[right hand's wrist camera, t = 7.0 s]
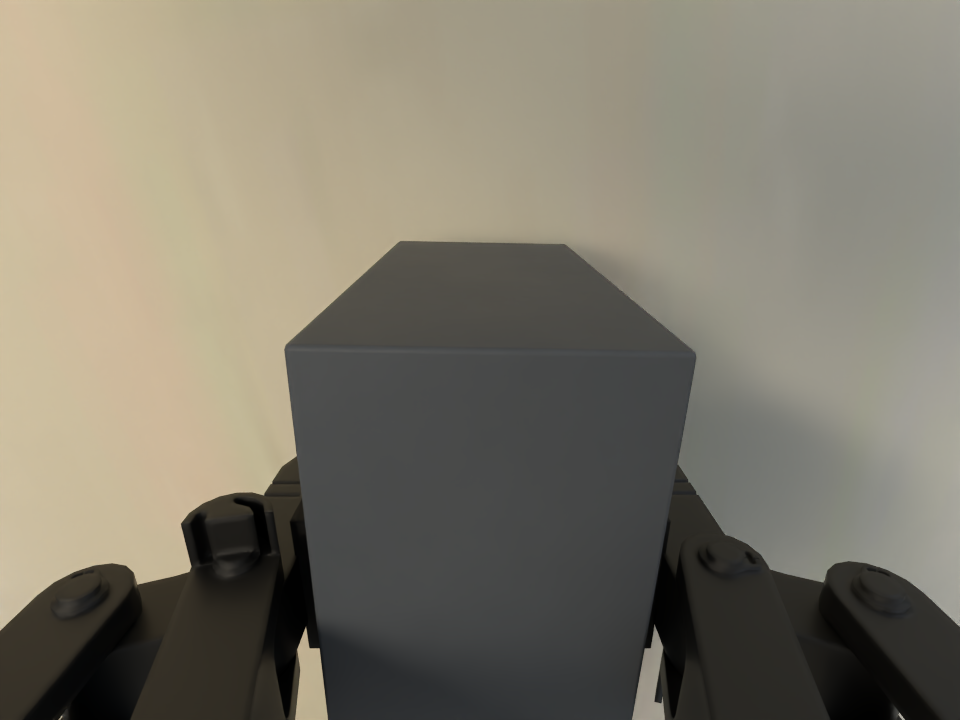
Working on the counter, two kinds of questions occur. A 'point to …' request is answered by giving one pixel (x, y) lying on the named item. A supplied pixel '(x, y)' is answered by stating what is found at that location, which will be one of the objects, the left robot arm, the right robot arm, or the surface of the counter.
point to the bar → (485, 483)
